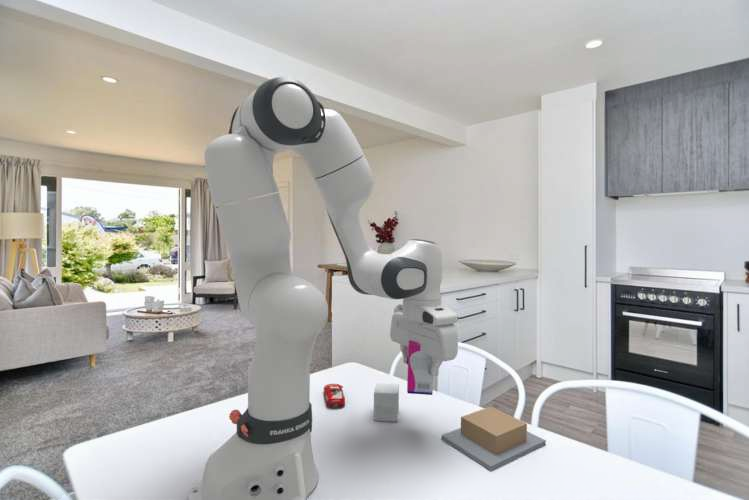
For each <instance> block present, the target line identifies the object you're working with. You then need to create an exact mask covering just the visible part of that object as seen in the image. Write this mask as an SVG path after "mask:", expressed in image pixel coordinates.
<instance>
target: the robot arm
mask: <svg viewBox="0 0 749 500" xmlns="http://www.w3.org/2000/svg"><path fill="white" fill-rule="evenodd" d="M290 150H291V151H294V152H295V153H296V154H297V155H299V157H301V158H302V160H303V162H305V164H306V165H307V168H308V170H309V173H310V174H311V176H312V178H313V180H314V182H315V185H316V187H317V188H318V190H319V193H320V195H321V198H322V199H323V202H324V204H325V209H326V212H327V215H328V219H329V220H330V224H331V226H332V229H333V232H334V233H335V237H336V238H337V241H338V243H339V245H340V248H341V250H342V253H343V255H344V258H345V262H346V268H347V269H346V270H347V271H346V272H347V276H348V281H349V283H350V286H351V288H353V289H354V291H356V292H358V293H359V294H360V295H368V296H369V295H370V296H377V297H381V298H384V299H385V298H386V299H390V300H402V304H397V305H395V308H394V310H393V314H392V317H391V322H390V331H389V336H390V340H391V341H392V342H394V343H395V344H396V343H397V344H398V345H400V346H399V349H400V351H401V354H402V358H403V359H402V362H403V364H405V365H407V366H408V350H409V340H410V341H413V342H416V343H419V344H420V345H421V348H420V350H421V352H422V353H424V354H426V355H429V356H431V357H432V361H433V364H432V366H431V367H428V371H429V372H428V374H429V375H431V376H433V378H434V377H438V376H439V371H440V370H439V369H440V367H441V365H442V364H443V362H449V361H453V360H455V359H456V358H457V356H458V353H459V352H458V351H459V349H458V348H459V338H458V337H459V336H458V335H459V333H458V328H457V327H456V325H455V324H457V323H458V320H459V317H458V314H457V313H456V312H454V310H452V309H450V308H449V307H448V306H447V305H445V303H442V294H441V284H442V280H443V258H442V251H441V248H440V246H439V245H438V244H437V243H436V242H433V241H431V240H425V239H418V238H414V239H413V238H412V239H408V240H407V242H406V243H405V244H404V245H403V246H402V247H401V248H399V249H398V250H395V251H392V252H390V253H388V254H386V253H385V254H384V253H380V252H377V251H376V250H374V249H373V248H372V247H371V245H370V242H369V241H368V237H367V235H366V233H365V230H364V228H363V225H362V222H361V219H360V210H361V209H362V207H363V206H364V205H365V204H366V202H367V201H368V200H369V198H370V196H371V195H372V193H373V192H372V191H373V190H374V189H373V188H374V176H373V173H372V170H371V167H370V164H369V162H368V160H367V158H366V155H365V154H364V152H363V149H362V147H361V145H360V143H359V142H358V139H357V137H356V136H355V134H354V133H353V130H352V129H351V128H350V126H349V125H348V123H347V122H346V120H345V119H344V118H343V116H342V115H341V114H340V113H339V112H338V111H336V110H334V109H332V108H324V105H323V104H322V103H321V102H320V101H319V100H317V98H316V96H315V95H314V94H313V92H312V91H311V90H310V89H309V87H307V86H306V85H305V83H302V82H301V81H299V80H297V79H296V78H293V77H289V76H278V77H274V78H271V79H268V80H266V81H264V82H263V83H261V84H260V86H258V88H256V89H255V90H252V91H251V92H250V93H248V94H247V95H246V97H245V98H244V99H243V100H242V101H241V103H240V105H238V106H237V108H236V109H235V111H234V112H233V115H232V117H231V120H230V126H229V131H228V133H227V134H224V135H221V136H219V137H217V138H215V139H214V140H212V141H211V142H210V143H209V144H208V146H206V148H205V150H204V164H205V166H204V167H205V172H206V173H205V174H206V178H207V179H206V180H207V183H208V189H209V193H210V196H211V200H212V204H213V207H214V210H215V213H216V217H217V220H218V223H219V226H220V229H221V232H222V233H221V234H222V235H223V238H224V241H225V244H226V248H227V252H228V256H229V259H230V266H231V273H232V276H233V277H232V278H233V283H234V286H235V287H234V288H235V290H236V294H237V302H238V305H239V308H240V311H241V313H242V314H243V316H244V317H245V319H246V320H248V322H250V323H251V324H253V325H254V326H255V343H254V350H253V354H252V359H251V362H249V365H248V367H247V408H246V409H245V410H244V412H243V413H241V411H239V409H233V410H231V411H230V413H229V415H228V418H229V420H230V421H231V423H232V424H233V425H236V432H235V433H234V434H233V435H232V436H230V438H228V439H227V440H226V441H225V442H224V443H223V444H222V445H221V446H220V447H219V448H217V449H216V450H215V451H214V452H213V453H212V454H210V455H209V456H208V459H207V460H206V462H205V466H204V470H203V473H202V478H200V479H198V480H196V481H195V482H194V483H193V484H192V486H191V488H190V490H189V492H188V497H187V500H307V498H308V496H309V495H310V494H311V493H312V492H313V491H314V490H315V488H316V486H317V484H318V482H319V472H318V470H317V468H316V464H315V459H314V453H313V447H312V439H311V438H312V436H311V433H312V432H313V431H312V430H313V407H312V403H311V401H310V397H311V396H310V393H311V392H310V390H311V389H310V388H311V384H310V383H311V381H310V379H311V377H310V376H311V375H310V374H311V371H310V370H311V361H312V356H313V351H314V347H315V343H316V341H317V337H318V335H320V334H321V332H322V331H323V329H324V327H325V326H326V323H327V322H328V318H329V317H328V316H329V305H328V302H327V299H326V296H325V295H324V294H323V293H322V292H321V290H319V288H318V287H317V286H315V284H313V283H311V281H309V280H307V279H305V278H302V277H299V276H295V275H294V273H293V271H292V266H291V256H290V254H291V253H290V243H291V238H292V234H291V229H290V226H289V223H288V219H287V215H286V212H285V208H284V205H283V201H282V199H281V195H280V192H279V188H278V185H277V181H276V179H275V176H274V158H275V156H276V154H278V153H279V154H280V153H284V152H287V151H290Z"/></svg>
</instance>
